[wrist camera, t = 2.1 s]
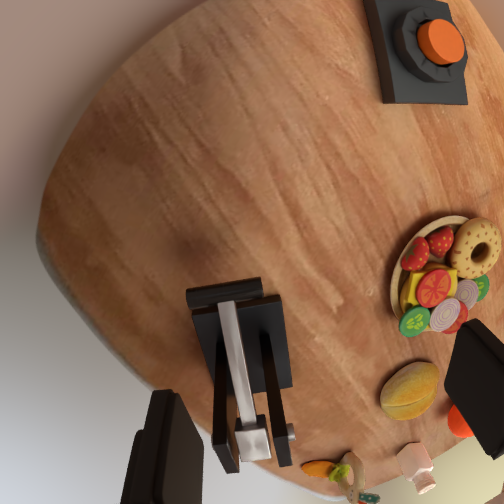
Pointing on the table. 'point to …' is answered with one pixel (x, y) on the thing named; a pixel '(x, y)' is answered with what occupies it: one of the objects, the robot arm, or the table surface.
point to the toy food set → (443, 274)
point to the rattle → (344, 477)
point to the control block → (412, 54)
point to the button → (440, 42)
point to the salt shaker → (416, 466)
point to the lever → (237, 360)
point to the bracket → (259, 368)
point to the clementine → (458, 423)
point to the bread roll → (410, 391)
